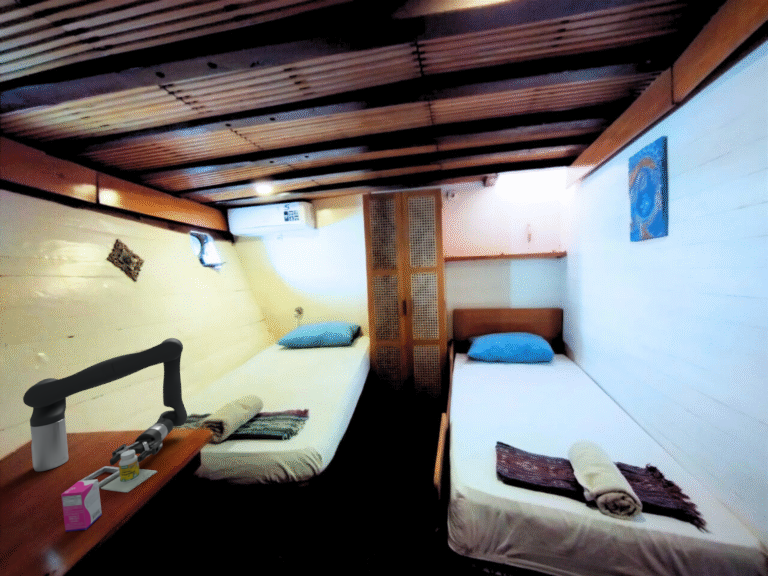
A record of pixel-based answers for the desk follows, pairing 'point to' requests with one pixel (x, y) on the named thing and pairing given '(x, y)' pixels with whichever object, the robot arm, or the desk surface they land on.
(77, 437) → the desk surface
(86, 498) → the supplement box
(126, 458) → the supplement bottle
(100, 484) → the square frame
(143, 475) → the pad
